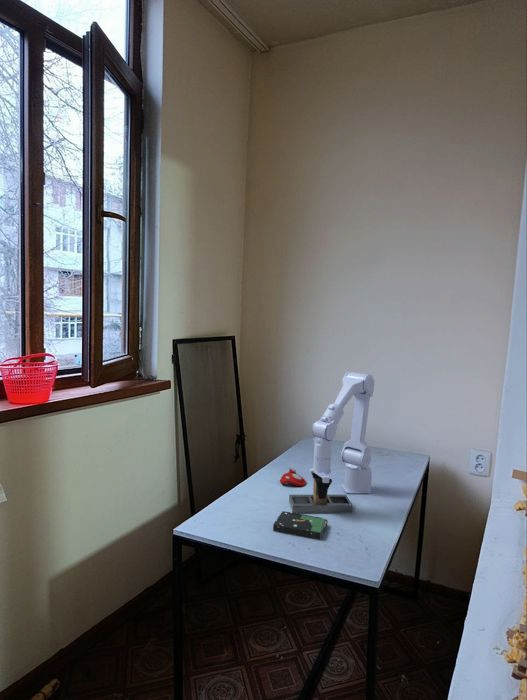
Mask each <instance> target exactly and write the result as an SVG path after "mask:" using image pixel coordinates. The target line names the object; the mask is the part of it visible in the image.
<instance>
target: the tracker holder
mask: <svg viewBox="0 0 527 700" xmlns="http://www.w3.org/2000/svg"><path fill="white" fill-rule="evenodd" d="M288 469H289V471H288V472H286V473H284V474H282V476H281V478H280V479H279V482H280V484H281V485H283V486H284V485H285V484H290V485H293V486H297V487H300V488H301V487H305V486H306V484H307V481H306V479H305V478H304V477H303V476H301V475H299V474H297V472H296V471H297V470H295V469H294V468H291V467H288Z"/></svg>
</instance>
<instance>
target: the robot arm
mask: <svg viewBox="0 0 527 700" xmlns="http://www.w3.org/2000/svg"><path fill="white" fill-rule="evenodd" d="M341 383H342V387H341V389H340V390H339V393H338V395H337V396H336V399H335V400H334V403H330V404H329V405H328V406H327V408H326V409H325V411H324V412H323V414H322V416H321V417H320V419H319V420H316V421H315V422H314V423H313V424H312V427H311V430H310V432H311V435H312V441H313V444H314V446H313V447H314V448H313V465H312V467H311V468H310V467H309V472H310V473H311V475H312V478H313V480H314V479H315V481H316V484H317V489H318V497H319V499H325V498H326V494H327V495H328V493H327V491H328V490H329V487H330V486H331V484H332V483H333V479H332V478H330V476H331V472H332V469H331V463H332V462H331V461H332V443H333V439H334V438H335V437H336V434H337V429H338V424H339V422H341V419H342V417H343V416H344V414H345V412H344V408H345V406H346V405H347V404H348V403H349V402H350V400H351V398H352V397H353V396H354V397H355V401H354V406H353V407H354V408H353V409H354V410H353V415H352V424H351V431H350V439H349V440H348V441H345V442H344V443H343V447H342V449H341V453H340V459H341V462H343V466H344V467H345V468H344V470H345V471H344V483H341V484H340V485H341V488H342V489H343V490H344V492H345V493H346V494H372V479H373V478H372V476H373V475H372V473H373V472H372V468H371V467H370V464H371V461H372V456H371V450H372V449H371V447H370V446H369V445H368V443H367V442H366V441H365V439H366V432H367V422H368V416H369V407H370V401H371V397H373V395H374V389H375V379H374V377H373V375H372V374H370V373H368V374H367V373H361V372H352V371H350V370H349V371H346V372H345V374H344V375H343V377H342V382H341Z"/></svg>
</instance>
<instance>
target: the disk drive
mask: <svg viewBox="0 0 527 700" xmlns="http://www.w3.org/2000/svg"><path fill="white" fill-rule="evenodd" d="M272 525H273V526H272V531H273V532H276V533H281V534H286V535H291V536H297V537H302V538H307V539H313V540H318V541H321V540H323V539H322V538H323V536H324V534H325V532H326V529H327V527H328V519H326V518H323V517H319V516H314V515H308V514H303V513H293V512H292V511H284V510H282V512H281V513H280V514H279V516H278V517H277V519H276V521H274V522H273V524H272Z"/></svg>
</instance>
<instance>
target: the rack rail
mask: <svg viewBox="0 0 527 700" xmlns="http://www.w3.org/2000/svg"><path fill="white" fill-rule="evenodd" d="M288 504H289V506H290V510H291V513H297V514H337V513H338V514H339V513H341V514H343V513H344V514H347V513H350V514H351V513H353V511H354V510H353V507H354V506H353V503H352V501H350V499H349V498H348V495H347V494H327V503H314V502H313V494H288Z"/></svg>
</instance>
